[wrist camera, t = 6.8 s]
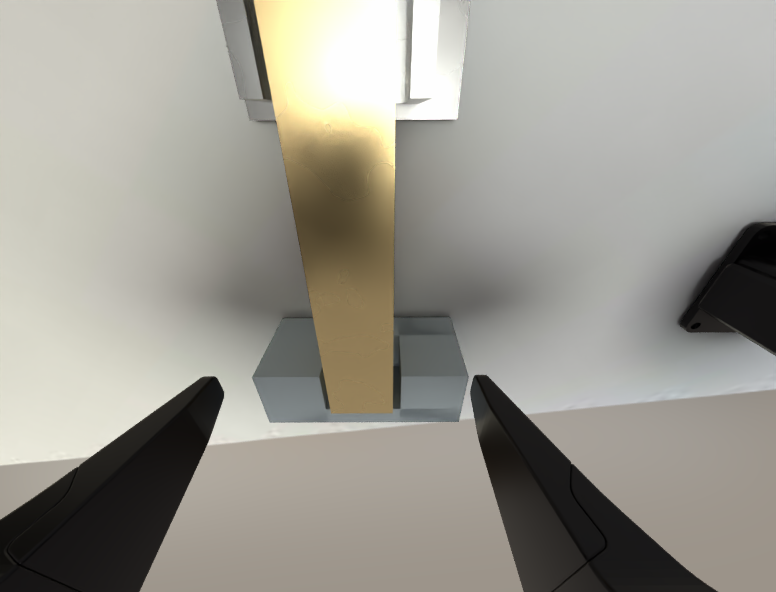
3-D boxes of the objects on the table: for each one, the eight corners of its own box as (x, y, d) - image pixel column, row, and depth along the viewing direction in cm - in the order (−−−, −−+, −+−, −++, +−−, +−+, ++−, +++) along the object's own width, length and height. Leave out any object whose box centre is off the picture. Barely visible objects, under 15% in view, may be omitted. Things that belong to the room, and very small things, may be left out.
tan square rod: (393, -4, 8) (396, -60, 5) (391, 366, 16) (392, 413, 14) (288, -3, 8) (242, -58, 5) (339, 366, 16) (331, 413, 14)
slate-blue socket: (450, 317, 17) (468, 376, 13) (444, 359, 19) (458, 421, 15) (282, 318, 17) (252, 377, 13) (293, 360, 19) (269, 422, 15)
